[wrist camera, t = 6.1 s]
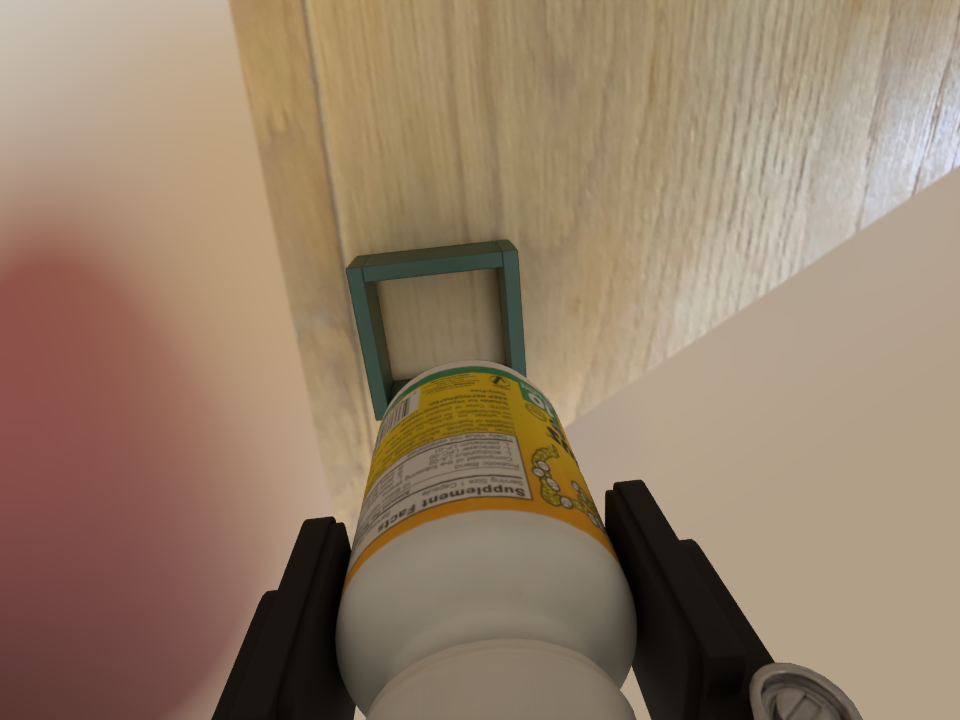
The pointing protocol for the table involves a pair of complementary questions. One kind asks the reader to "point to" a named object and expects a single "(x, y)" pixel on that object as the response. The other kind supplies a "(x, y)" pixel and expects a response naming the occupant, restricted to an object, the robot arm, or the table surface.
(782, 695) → the robot arm
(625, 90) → the table surface
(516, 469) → the supplement bottle
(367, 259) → the open square frame
